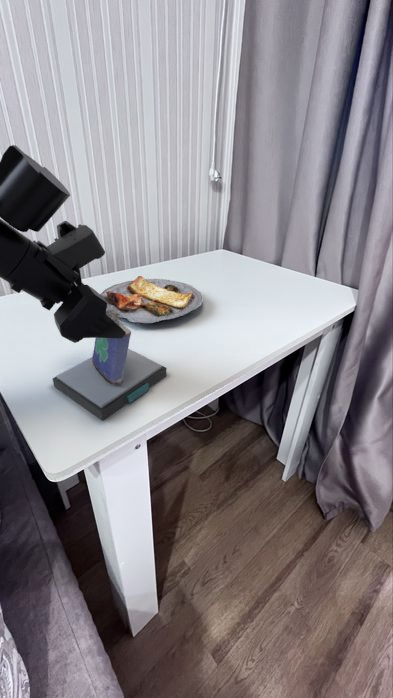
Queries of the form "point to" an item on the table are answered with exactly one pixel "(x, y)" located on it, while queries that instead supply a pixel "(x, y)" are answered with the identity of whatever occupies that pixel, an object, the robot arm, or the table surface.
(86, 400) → the scale
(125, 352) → the flask
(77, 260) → the robot arm
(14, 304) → the table surface
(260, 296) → the table surface
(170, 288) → the food plate
